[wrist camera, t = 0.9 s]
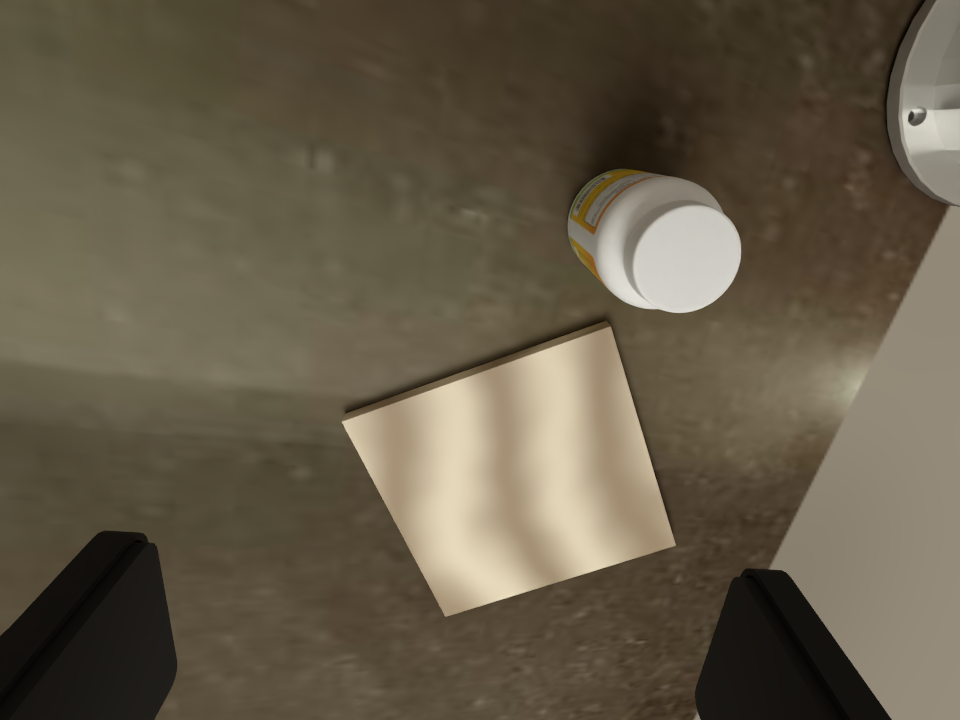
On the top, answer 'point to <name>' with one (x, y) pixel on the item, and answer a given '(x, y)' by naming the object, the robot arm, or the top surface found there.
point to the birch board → (516, 471)
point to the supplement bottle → (654, 240)
